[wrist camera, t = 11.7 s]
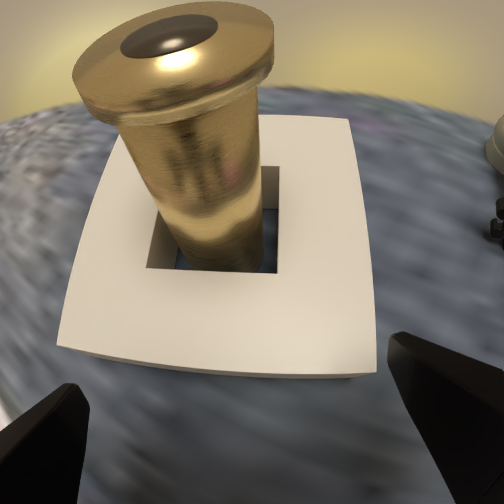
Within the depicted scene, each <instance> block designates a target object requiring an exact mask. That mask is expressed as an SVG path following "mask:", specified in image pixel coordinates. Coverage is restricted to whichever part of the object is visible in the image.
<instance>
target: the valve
mask: <svg viewBox="0 0 504 504" xmlns="http://www.w3.org/2000/svg"><path fill="white" fill-rule="evenodd" d="M485 152H486V158H487V160H488V162H489V163H490V164H491V165H492V166H493V167H494V168H495V169H496V170H497V171H498V172H499V173H501V174H502V175H504V115H503V116H502V117H501V118H500V119H499V120H498V121H497V123H496V125H495V129H494V135H491V137H490V139H489V140H488V142H487V143H486V145H485ZM496 215H497V217H498V218H499V219H501V220H503V223H497V218H494V219H492V220H491V222H490V234H491V236H492V237H493V238H497V239H498V238H502V237H503V236H504V198H500V199H498V200H497V201H496ZM503 249H504V238H503Z"/></svg>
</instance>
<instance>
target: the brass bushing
mask: <svg viewBox="0 0 504 504" xmlns="http://www.w3.org/2000/svg"><path fill="white" fill-rule="evenodd" d="M273 64H274V25H273V21H272V20H271V18H270V17H269V16H268V15H267V14H265V13H264V12H262V11H260V10H258V9H256V8H254V7H251V6H247V5H243V4H238V3H231V2H195V3H187V4H181V5H176V6H171V7H167V8H163V9H159V10H156V11H153V12H150V13H147V14H144V15H141V16H139V17H136V18H134V19H132V20H130V21H127V22H125V23H123V24H121V25H120V26H118V27H116V28H114V29H112V30H111V31H109V32H108V33H106V34H105V35H103V36H102V37H100V38H99V39H98V40H96V41H95V42H94V43H93V44H92V45H91V46H89V47H88V48H87V49H86V50H85V52H84V53H83V54H82V55H81V56H80V58H79V59H78V60H77V62H76V64H75V66H74V69H73V73H72V78H73V81H74V84H75V86H76V88H77V90H78V92H79V94H80V96H81V98H82V100H83V102H84V104H85V106H86V108H87V110H88V111H89V113H90V114H91V115H92V116H93V117H94V118H96V119H97V120H99V121H101V122H103V123H107V124H111V125H116V127H117V129H118V131H119V134H120V136H121V138H122V140H123V142H124V144H125V146H126V148H127V150H128V152H129V154H130V156H131V158H132V160H133V162H134V164H135V166H136V168H137V170H138V172H139V174H140V176H141V178H142V180H143V181H144V183H145V185H146V187H147V189H148V191H149V193H150V195H151V197H152V199H153V201H154V202H155V204H156V206H157V208H158V210H159V212H160V214H161V215H162V217H163V219H164V221H165V223H166V225H167V226H168V228H169V230H170V232H171V234H172V236H173V237H174V239H175V241H176V243H177V244H178V246H179V248H180V250H181V252H182V253H183V255H184V257H185V259H186V260H187V262H188V264H189V266H190V267H191V269H192V271H215V272H240V273H256V272H257V271H258V269H259V267H260V266H261V263H262V261H263V256H264V238H263V211H262V186H261V162H260V139H259V118H258V97H257V86H258V85H259V84H260V83H261V82H262V81H263V80H264V79H265V78H266V77H267V76H268V74H269V73H270V71H271V69H272V66H273Z"/></svg>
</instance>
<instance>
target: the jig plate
mask: <svg viewBox="0 0 504 504" xmlns="http://www.w3.org/2000/svg"><path fill="white" fill-rule="evenodd" d="M258 118H259V139H260V162H261V186H262V208H265V209H278V236H277V273H276V274H267V273H240V272H215V271H192V270H174V269H175V263H176V257H177V251H178V244H177V243H176V241H175V239H174V237H173V236H172V234H171V232H170V230H169V228H168V226H167V225H166V223H165V221H164V219H163V217H162V215H161V214H160V212H159V210H158V208H157V206H156V204H155V202H154V201H153V199H152V197H151V195H150V193H149V191H148V189H147V187H146V185H145V183H144V181H143V180H142V178H141V176H140V174H139V172H138V170H137V168H136V166H135V164H134V162H133V160H132V158H131V156H130V154H129V152H128V150H127V148H126V146H125V144H124V142H123V140H122V138H121V136H120V134H119V136H118V138H117V141H116V143H115V145H114V148H113V150H112V152H111V155H110V157H109V160H108V162H107V165H106V167H105V170H104V172H103V175H102V177H101V180H100V183H99V185H98V188H97V191H96V193H95V196H94V199H93V202H92V205H91V208H90V211H89V214H88V217H87V220H86V223H85V226H84V229H83V233H82V236H81V239H80V243H79V246H78V250H77V253H76V257H75V260H74V264H73V268H72V272H71V276H70V280H69V284H68V288H67V293H66V297H65V302H64V307H63V312H62V317H61V322H60V327H59V333H58V339H57V345H59V346H62V347H65V348H68V349H71V350H74V351H77V352H80V353H83V354H86V355H90V356H93V357H96V358H101V359H107V360H112V361H117V362H123V363H129V364H135V365H141V366H148V367H154V368H162V369H169V370H177V371H186V372H195V373H205V374H216V375H228V376H242V377H261V378H293V379H330V378H353V377H358V376H363V375H367V374H371V373H375V372H377V369H376V327H375V307H374V292H373V279H372V268H371V258H370V248H369V239H368V231H367V223H366V216H365V209H364V202H363V196H362V189H361V183H360V177H359V172H358V166H357V161H356V155H355V150H354V145H353V140H352V135H351V131H350V126H349V122H348V119H340V118H327V117H312V116H292V115H258Z"/></svg>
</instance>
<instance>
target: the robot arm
mask: <svg viewBox="0 0 504 504" xmlns="http://www.w3.org/2000/svg"><path fill="white" fill-rule="evenodd" d="M387 363H388V366H389V369H390V371H391V373H392V376H393V378H394V380H395V383H396V385H397V388H398V390H399V392H400V395H401V397H402V400H403V402H404V404H405V407H406V409H407V411H408V413H409V414H410V416H411V418H412V420H413V422H414V423H415V425H416V427H417V429H418V431H419V433H420V434H421V436H422V438H423V440H424V442H425V444H426V446H427V448H428V449H429V451H430V453H431V455H432V457H433V459H434V461H435V463H436V465H437V467H438V469H439V471H440V473H441V475H442V477H443V479H444V481H445V483H446V485H447V487H448V489H449V491H450V493H451V495H452V497H453V499H454V501H455V503H456V504H504V371H503V370H502V369H499V368H497V367H494V366H492V365H489V364H486V363H484V362H481V361H478V360H476V359H473V358H471V357H468V356H465V355H463V354H460V353H458V352H455V351H452V350H450V349H447V348H445V347H442V346H440V345H437V344H435V343H432V342H429V341H427V340H424V339H422V338H419V337H417V336H414V335H412V334H409V333H407V332H404V331H402V332H398V333H395V334H392V335H391V336H390V337H389V342H388V352H387ZM89 414H90V406H89V403H88V401H87V399H86V398H85V396H84V394H83V392H82V391H81V389H80V387H79V386H78V385H77V384H75V383H65V384H63V385H61V386H60V387H59V388H57V389H56V390H55V391H53V392H52V393H51V394H49V395H48V396H47V397H45V398H44V399H43V400H41V401H40V402H39V403H37V404H36V405H35V406H33V407H32V408H31V409H29V410H28V411H27V412H25V413H24V414H23V415H21V416H20V417H19V418H17V419H16V420H15V421H13V422H12V423H11V424H9V425H8V426H7V427H5V428H4V429H3V430H1V431H0V504H77V499H78V492H79V485H80V479H81V473H82V468H83V462H84V457H85V451H86V442H87V431H88V422H89Z"/></svg>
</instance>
